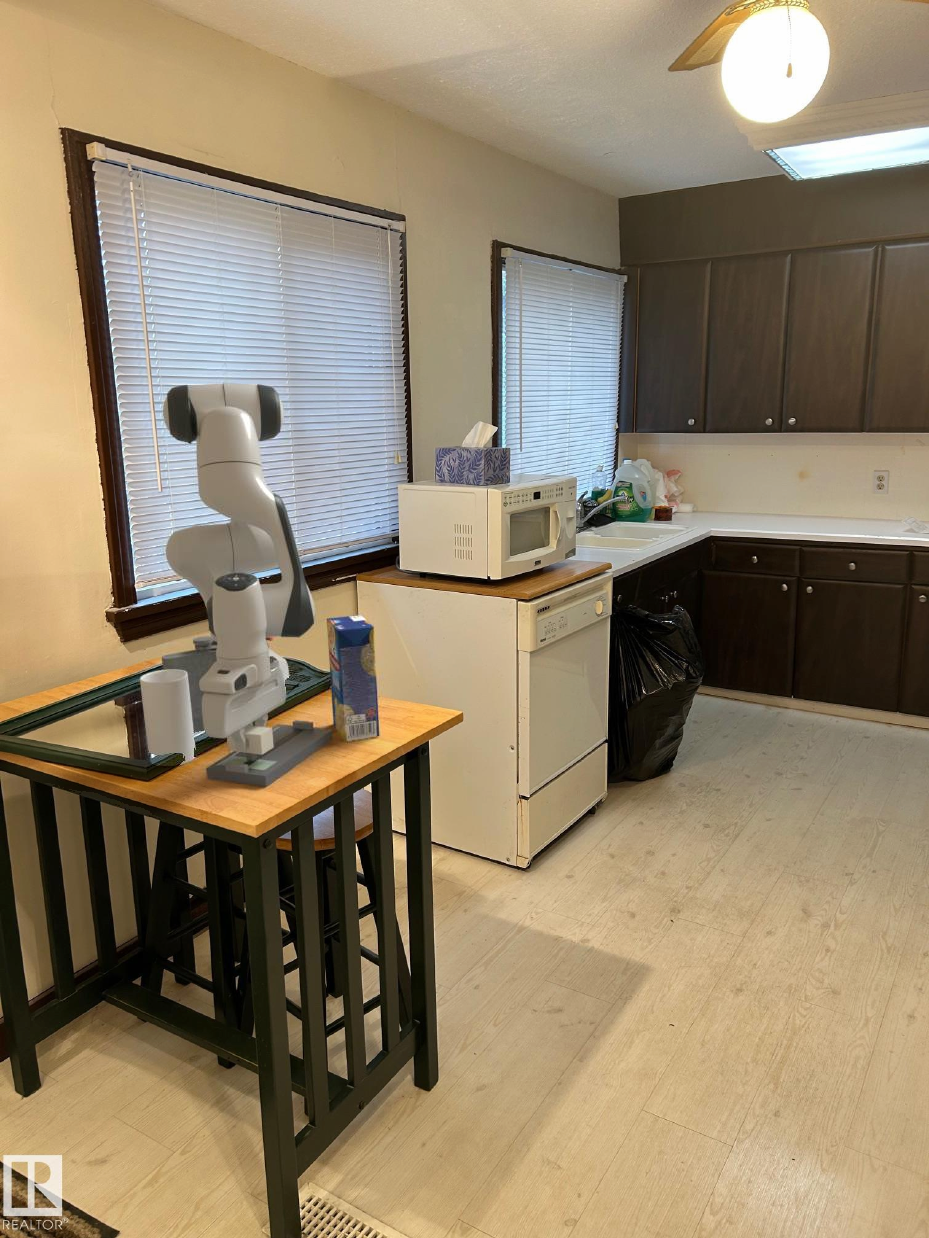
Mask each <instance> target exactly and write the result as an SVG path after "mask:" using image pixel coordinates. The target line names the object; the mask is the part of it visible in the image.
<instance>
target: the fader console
mask: <svg viewBox="0 0 929 1238" xmlns="http://www.w3.org/2000/svg"><path fill="white" fill-rule="evenodd" d="M271 728H272V733H273V745H274V747H273V748H272V749H270V750H269V751H267V752H266V753H264V754H263V755H260V754H257V758H256V759H255V760H253V761H250V760H247V758H246V753H245V752H237V751H230V753H228V754H227V755H225V756H224V757H222V758H220V759H219V760H217V761H215V762H214V763H212V764H210V765H208V766H207V767H206V768H205V769H206V770H205V771H206V779H208V780H212V781H213V780H214V781H221V782H228V783H236V784H242V785H249V786H255V787H256V786H257V787H261V788H262V787H263V788H266V787H269V785H272V784H273V783H274V782H276V781H277V780H278V779H280V778H281V777H282V776H285V774H287V773H288V772H289V771H291V770H292V769H294V768H295V767H296V766H298V765H299V764H301V763H302V762H303V761H305V760H306V759H308V758H310V756H312V755H313V754H315V753H316V752H317V751H319V750H320V749H322V748H323V747H324V746H326V745H327V744H328V743H330V742H332V741H333V731H332V730H333V729H326V728H317V727H314V722H313V721H308V720H307V721H306V720H299V719H298V720H297V719H294V720H293V721H292V725H291V724H282V723H278V724H275V725H274V726H273V727H271Z"/></svg>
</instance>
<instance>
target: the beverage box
mask: <svg viewBox="0 0 929 1238" xmlns="http://www.w3.org/2000/svg"><path fill="white" fill-rule="evenodd" d="M326 629H327V645H328V646H327V648H328V656H329V657H328V660H329V661H328V663H329V673H330V676H329V678H330V691H331V692H330V693H331V706H332V720H333V726H334V727H335V729H336V730H337V732H338V734H339V735H340V737H341V738H342V740H343V741H344V742H345V743H347V741H348V742H353V741H352V740H355V741H359V740H358V739H361V740H366V739H365V738H368V739H370V738H369V737H375V738H377V737H376V736H380V724H379V723H380V722H379V721H380V720H379V719H380V718H379V717H380V716H379V703H378V702H379V701H378V699H379V698H378V685H377V684H378V683H377V682H378V681H377V665H376V664H377V663H376V662H377V661H376V646H375V645H376V644H375V626H374V625H373V624H371V623H370V622H369V621H368V620H367V619H366V618H365V617H364V616H362V614H358V615H350V616H349V615H348V616H338V617H329V618H326Z"/></svg>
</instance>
